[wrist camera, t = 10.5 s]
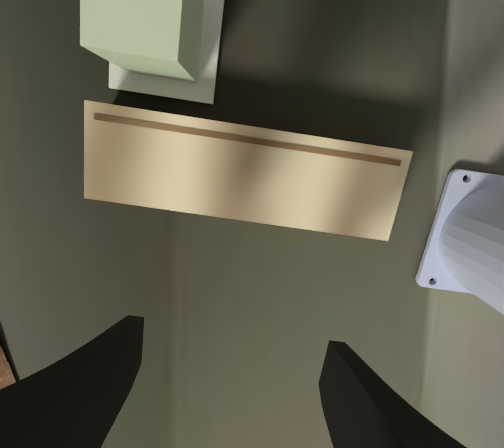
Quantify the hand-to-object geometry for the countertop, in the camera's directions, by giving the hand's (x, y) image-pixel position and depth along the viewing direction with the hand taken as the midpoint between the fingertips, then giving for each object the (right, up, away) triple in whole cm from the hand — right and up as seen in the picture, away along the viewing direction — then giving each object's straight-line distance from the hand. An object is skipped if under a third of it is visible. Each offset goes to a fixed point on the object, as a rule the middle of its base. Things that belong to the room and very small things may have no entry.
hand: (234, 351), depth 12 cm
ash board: (0, +8, +7) cm, 11 cm away
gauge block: (-4, +15, +5) cm, 17 cm away
